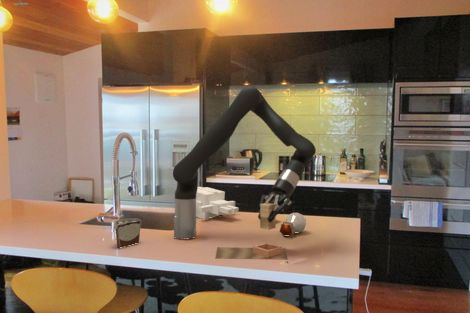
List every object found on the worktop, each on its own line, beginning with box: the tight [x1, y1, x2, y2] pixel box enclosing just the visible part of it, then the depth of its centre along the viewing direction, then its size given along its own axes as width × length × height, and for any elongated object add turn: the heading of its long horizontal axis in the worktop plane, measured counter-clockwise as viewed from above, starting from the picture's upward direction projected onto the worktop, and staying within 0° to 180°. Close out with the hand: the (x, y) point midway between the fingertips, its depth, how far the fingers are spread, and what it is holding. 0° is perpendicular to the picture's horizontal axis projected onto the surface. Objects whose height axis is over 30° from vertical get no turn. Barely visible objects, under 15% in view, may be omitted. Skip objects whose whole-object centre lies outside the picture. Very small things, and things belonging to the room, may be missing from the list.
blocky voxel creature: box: [196, 186, 240, 220], centre depth 228 cm, size 15×25×28 cm
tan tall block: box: [259, 203, 277, 231], centre depth 160 cm, size 4×4×9 cm
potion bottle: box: [278, 212, 307, 236], centre depth 195 cm, size 9×10×15 cm
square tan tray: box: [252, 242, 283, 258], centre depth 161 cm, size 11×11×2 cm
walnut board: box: [215, 246, 289, 261], centre depth 161 cm, size 26×14×2 cm, turn 89°
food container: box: [113, 218, 143, 249], centre depth 175 cm, size 12×6×10 cm, turn 141°
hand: (264, 219), depth 158 cm, fingers closed on tan tall block, 4 cm apart
